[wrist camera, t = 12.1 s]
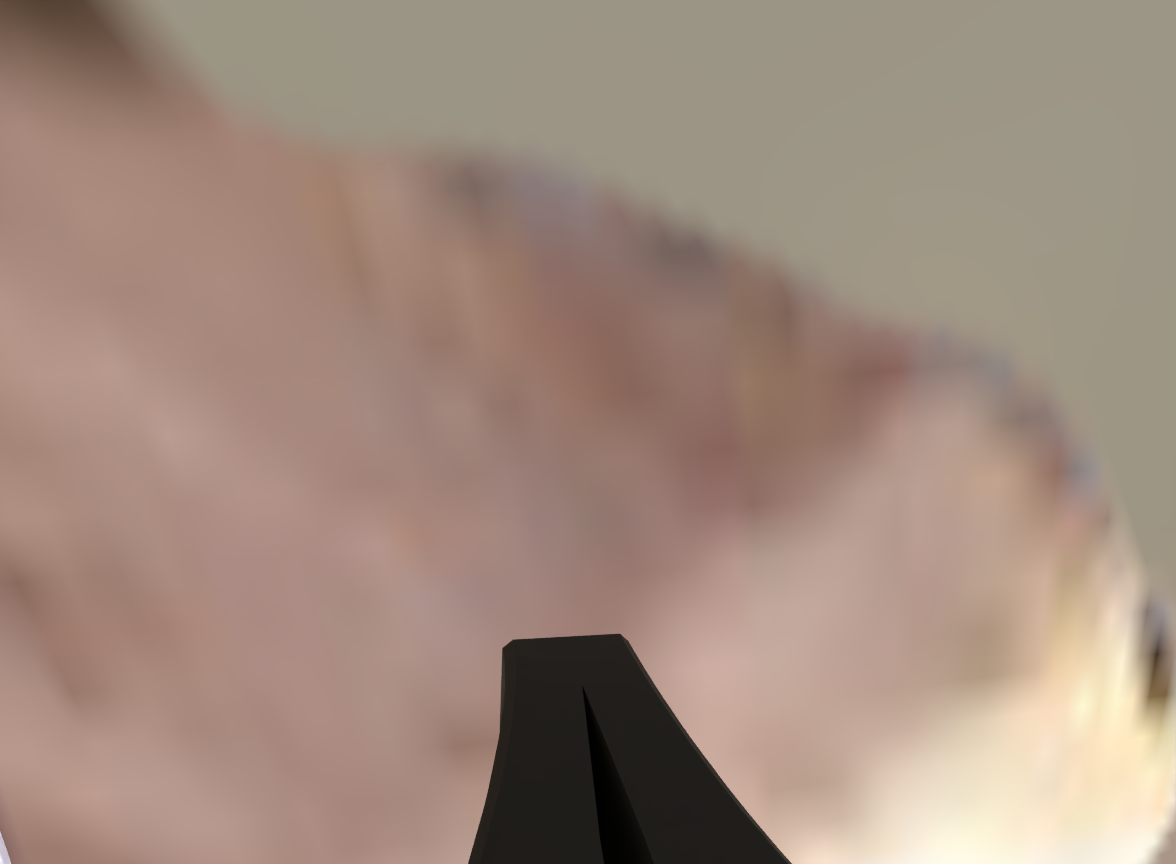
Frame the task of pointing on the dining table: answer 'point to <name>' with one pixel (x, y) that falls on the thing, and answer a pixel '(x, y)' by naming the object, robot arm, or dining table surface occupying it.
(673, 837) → the robot arm
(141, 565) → the dining table surface
